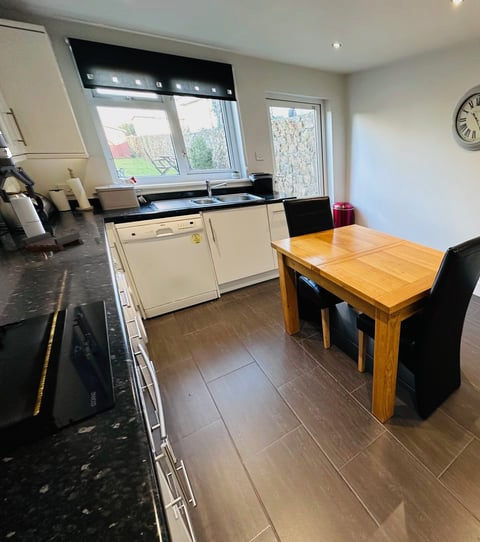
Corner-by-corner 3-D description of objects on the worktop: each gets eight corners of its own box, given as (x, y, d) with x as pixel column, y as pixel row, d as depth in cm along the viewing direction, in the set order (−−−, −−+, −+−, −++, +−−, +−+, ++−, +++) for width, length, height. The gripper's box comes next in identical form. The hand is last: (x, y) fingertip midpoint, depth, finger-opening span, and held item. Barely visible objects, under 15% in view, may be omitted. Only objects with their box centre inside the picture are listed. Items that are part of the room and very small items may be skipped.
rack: (27, 252, 145) (21, 239, 142) (52, 244, 158) (47, 232, 155) (61, 252, 146) (56, 239, 144) (83, 243, 159) (78, 231, 156)
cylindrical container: (47, 243, 158) (27, 198, 148) (29, 245, 154) (7, 199, 144) (50, 240, 163) (31, 196, 153) (33, 242, 160) (12, 197, 150)
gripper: (-20, 158, 130) (3, 204, 138) (33, 156, 152) (50, 196, 161) (-38, 158, 129) (-13, 204, 138) (18, 156, 152) (36, 196, 160)
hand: (21, 200), depth 149 cm, fingers open, 13 cm apart
